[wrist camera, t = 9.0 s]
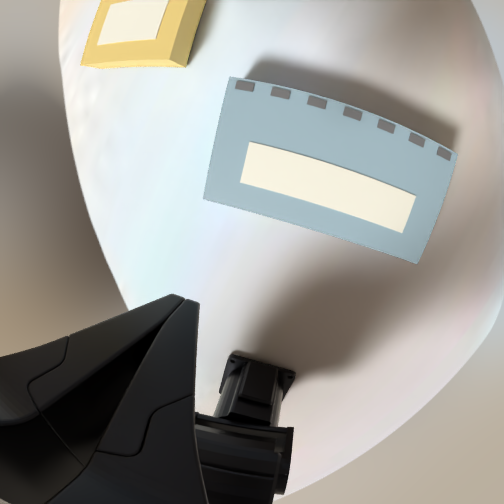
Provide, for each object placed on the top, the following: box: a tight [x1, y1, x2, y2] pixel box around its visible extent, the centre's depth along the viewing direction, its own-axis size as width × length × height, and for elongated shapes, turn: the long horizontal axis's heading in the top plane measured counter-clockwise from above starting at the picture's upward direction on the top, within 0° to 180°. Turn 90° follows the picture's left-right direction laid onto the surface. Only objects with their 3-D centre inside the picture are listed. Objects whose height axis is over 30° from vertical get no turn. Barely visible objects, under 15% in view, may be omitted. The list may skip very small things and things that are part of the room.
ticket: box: [203, 77, 458, 264], centre depth 15 cm, size 8×14×3 cm, turn 77°
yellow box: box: [80, 0, 206, 69], centre depth 13 cm, size 6×8×3 cm
